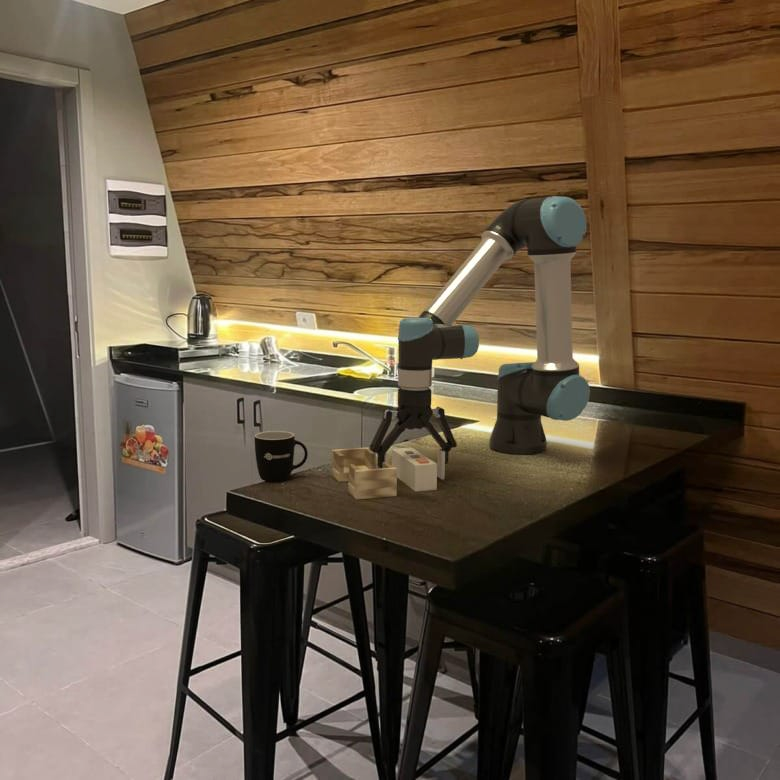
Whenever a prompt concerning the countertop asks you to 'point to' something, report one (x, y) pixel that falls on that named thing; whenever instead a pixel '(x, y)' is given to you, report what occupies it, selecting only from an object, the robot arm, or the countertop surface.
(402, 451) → the power strip
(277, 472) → the mug
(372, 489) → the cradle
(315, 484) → the countertop surface
